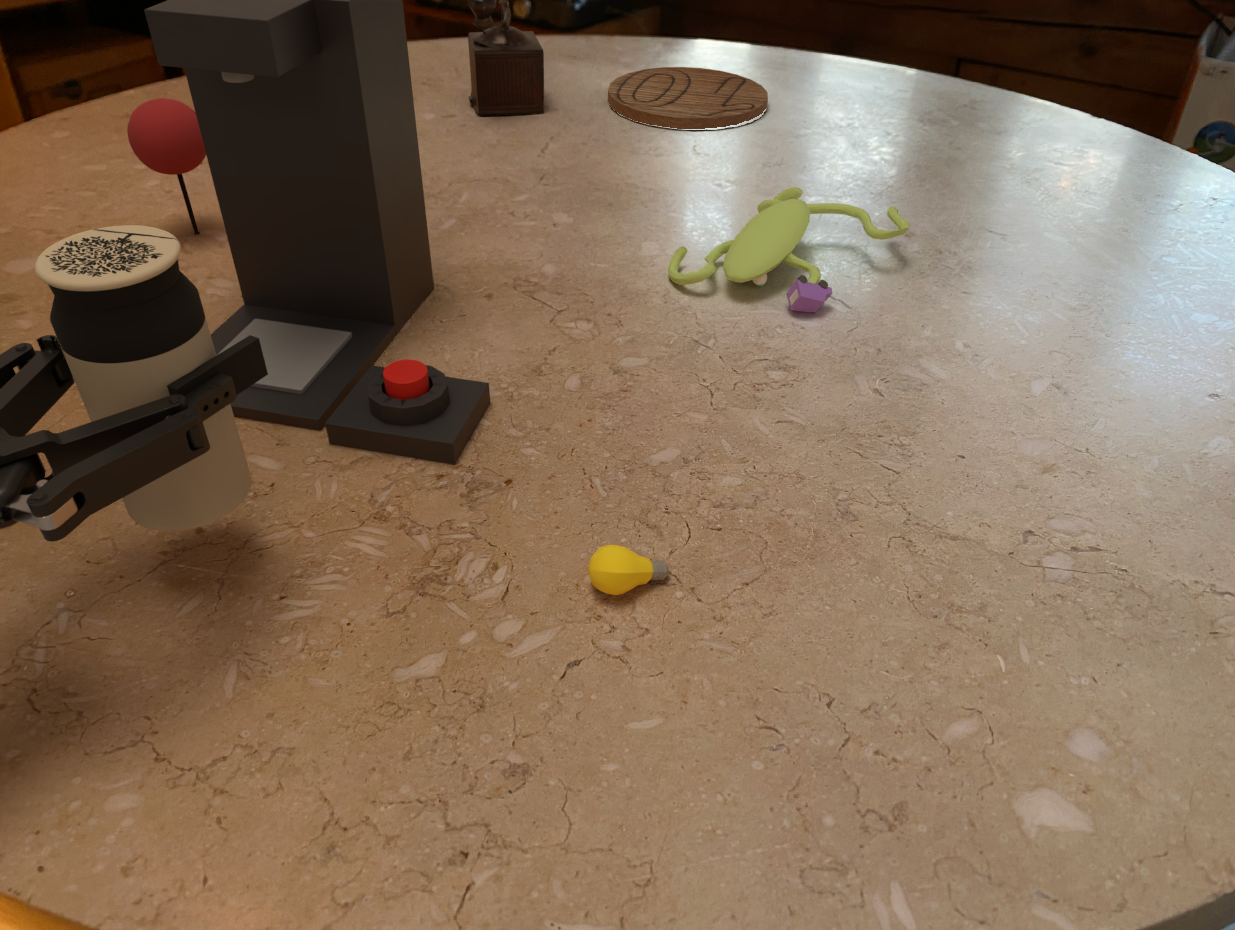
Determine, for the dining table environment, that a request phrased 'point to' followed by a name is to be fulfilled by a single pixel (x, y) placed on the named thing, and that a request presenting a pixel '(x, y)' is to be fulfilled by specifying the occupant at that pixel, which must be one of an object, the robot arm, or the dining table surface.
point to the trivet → (687, 97)
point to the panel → (410, 417)
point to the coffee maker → (308, 184)
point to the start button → (406, 379)
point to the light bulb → (622, 569)
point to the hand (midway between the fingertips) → (208, 337)
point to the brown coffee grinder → (504, 64)
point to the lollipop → (167, 140)
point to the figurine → (780, 247)
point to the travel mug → (142, 358)
